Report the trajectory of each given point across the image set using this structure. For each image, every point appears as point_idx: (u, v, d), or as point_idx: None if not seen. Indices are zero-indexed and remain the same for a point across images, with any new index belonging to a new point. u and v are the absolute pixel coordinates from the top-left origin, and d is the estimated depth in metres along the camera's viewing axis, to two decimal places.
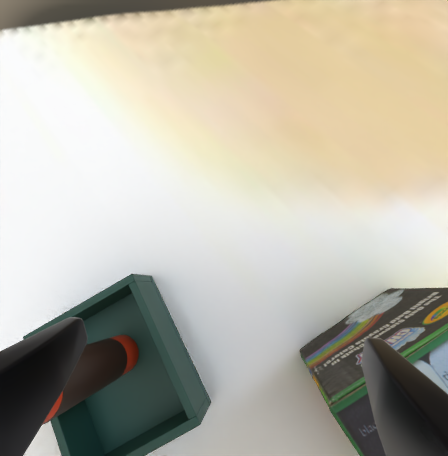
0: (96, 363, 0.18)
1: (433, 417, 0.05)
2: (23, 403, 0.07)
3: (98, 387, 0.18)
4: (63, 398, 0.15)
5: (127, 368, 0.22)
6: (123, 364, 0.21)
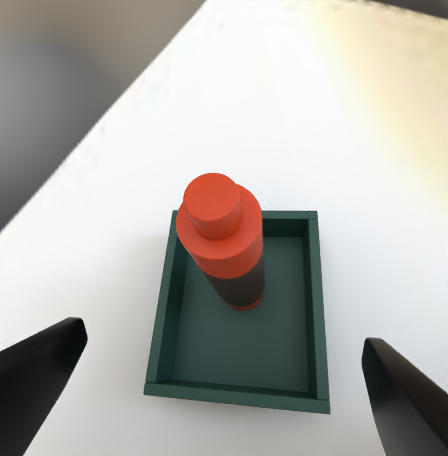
0: None
1: (433, 417, 0.05)
2: (23, 403, 0.07)
3: (248, 293, 0.15)
4: (255, 266, 0.12)
5: (253, 303, 0.18)
6: (260, 294, 0.17)
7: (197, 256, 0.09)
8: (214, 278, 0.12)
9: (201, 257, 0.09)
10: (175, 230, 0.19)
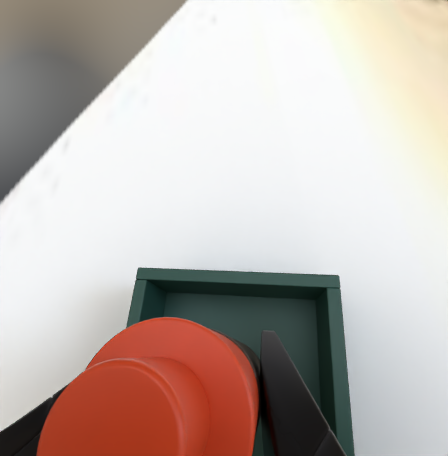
0: None
1: (276, 401, 0.06)
2: None
3: None
4: None
5: None
6: None
7: None
8: None
9: None
10: (140, 298, 0.14)
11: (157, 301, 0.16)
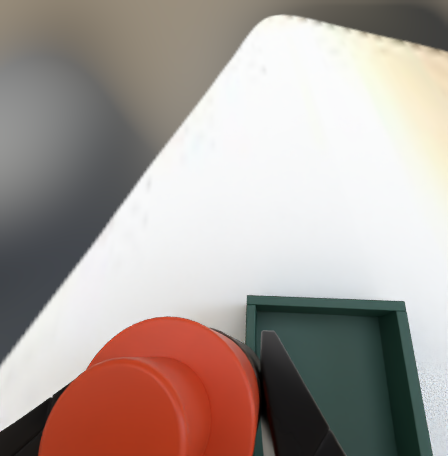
0: None
1: (276, 401, 0.06)
2: None
3: None
4: None
5: None
6: None
7: None
8: None
9: None
10: (252, 319, 0.18)
11: (256, 319, 0.20)
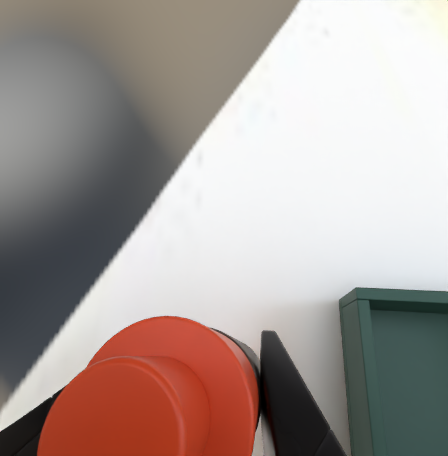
0: None
1: (276, 401, 0.06)
2: None
3: None
4: None
5: None
6: None
7: None
8: None
9: None
10: (368, 318, 0.14)
11: None
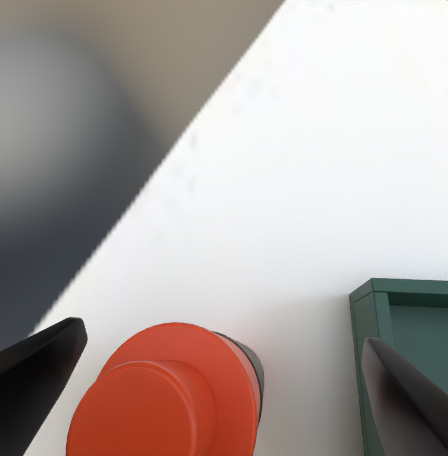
0: None
1: (433, 417, 0.05)
2: (23, 403, 0.07)
3: None
4: None
5: None
6: None
7: None
8: None
9: None
10: (387, 314, 0.12)
11: None
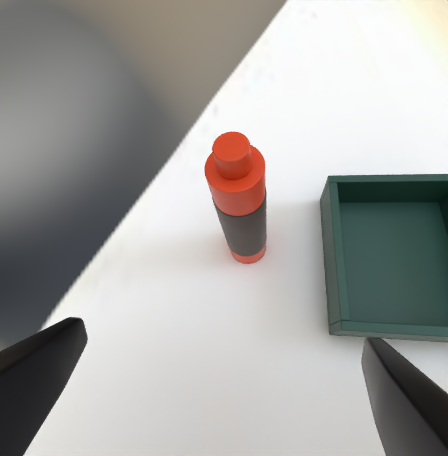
0: None
1: (433, 417, 0.05)
2: (23, 403, 0.07)
3: (254, 238, 0.19)
4: (259, 207, 0.16)
5: (257, 255, 0.22)
6: (262, 245, 0.22)
7: (220, 191, 0.14)
8: (229, 216, 0.16)
9: (223, 191, 0.14)
10: (335, 192, 0.21)
11: None
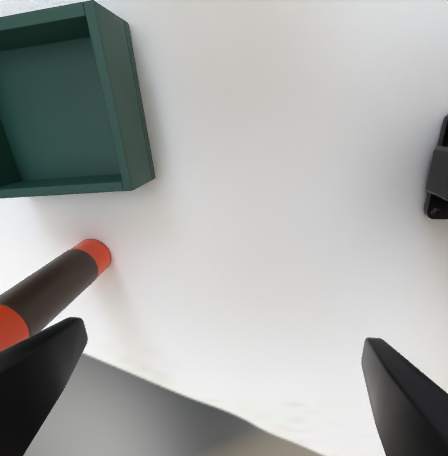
0: (38, 274, 0.19)
1: (433, 417, 0.05)
2: (23, 403, 0.07)
3: (64, 280, 0.19)
4: (12, 307, 0.16)
5: (95, 253, 0.22)
6: (80, 255, 0.21)
7: None
8: (31, 331, 0.16)
9: None
10: None
11: (16, 183, 0.21)
